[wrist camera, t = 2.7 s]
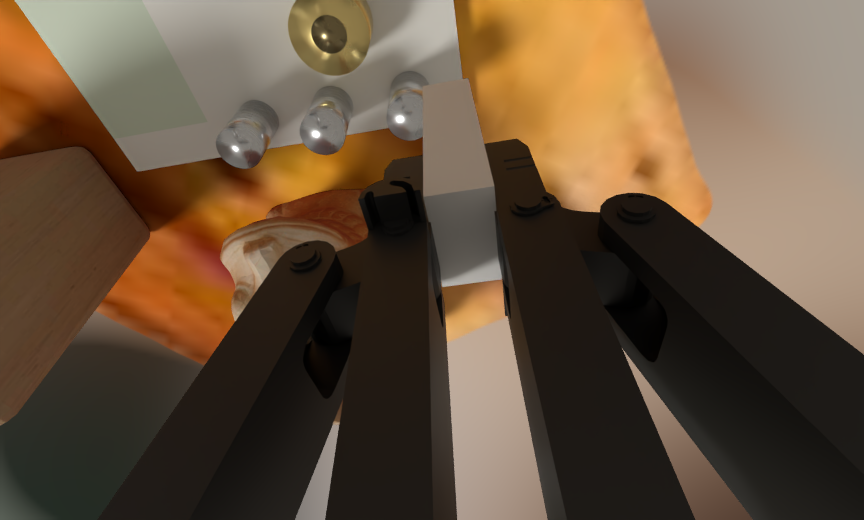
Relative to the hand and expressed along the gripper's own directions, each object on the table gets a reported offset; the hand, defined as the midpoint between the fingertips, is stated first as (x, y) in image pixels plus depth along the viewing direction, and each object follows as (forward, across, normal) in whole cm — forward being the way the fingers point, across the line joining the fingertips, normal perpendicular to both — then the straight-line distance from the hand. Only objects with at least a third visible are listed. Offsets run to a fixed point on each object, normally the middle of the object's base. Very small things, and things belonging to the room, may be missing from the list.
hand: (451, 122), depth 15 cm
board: (+19, -13, 0) cm, 23 cm away
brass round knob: (+18, -7, 0) cm, 20 cm away
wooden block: (+20, -35, -10) cm, 41 cm away
